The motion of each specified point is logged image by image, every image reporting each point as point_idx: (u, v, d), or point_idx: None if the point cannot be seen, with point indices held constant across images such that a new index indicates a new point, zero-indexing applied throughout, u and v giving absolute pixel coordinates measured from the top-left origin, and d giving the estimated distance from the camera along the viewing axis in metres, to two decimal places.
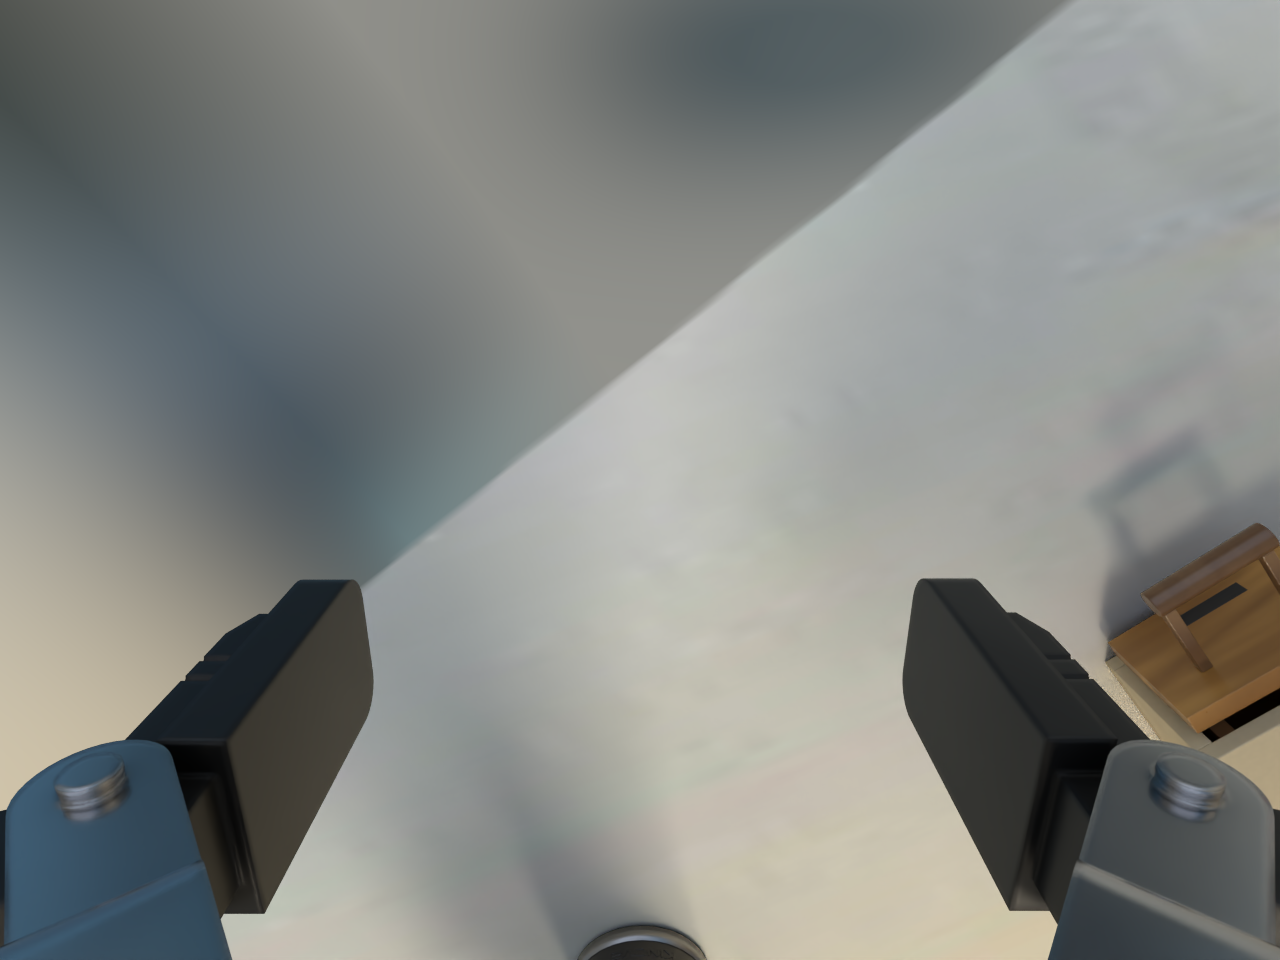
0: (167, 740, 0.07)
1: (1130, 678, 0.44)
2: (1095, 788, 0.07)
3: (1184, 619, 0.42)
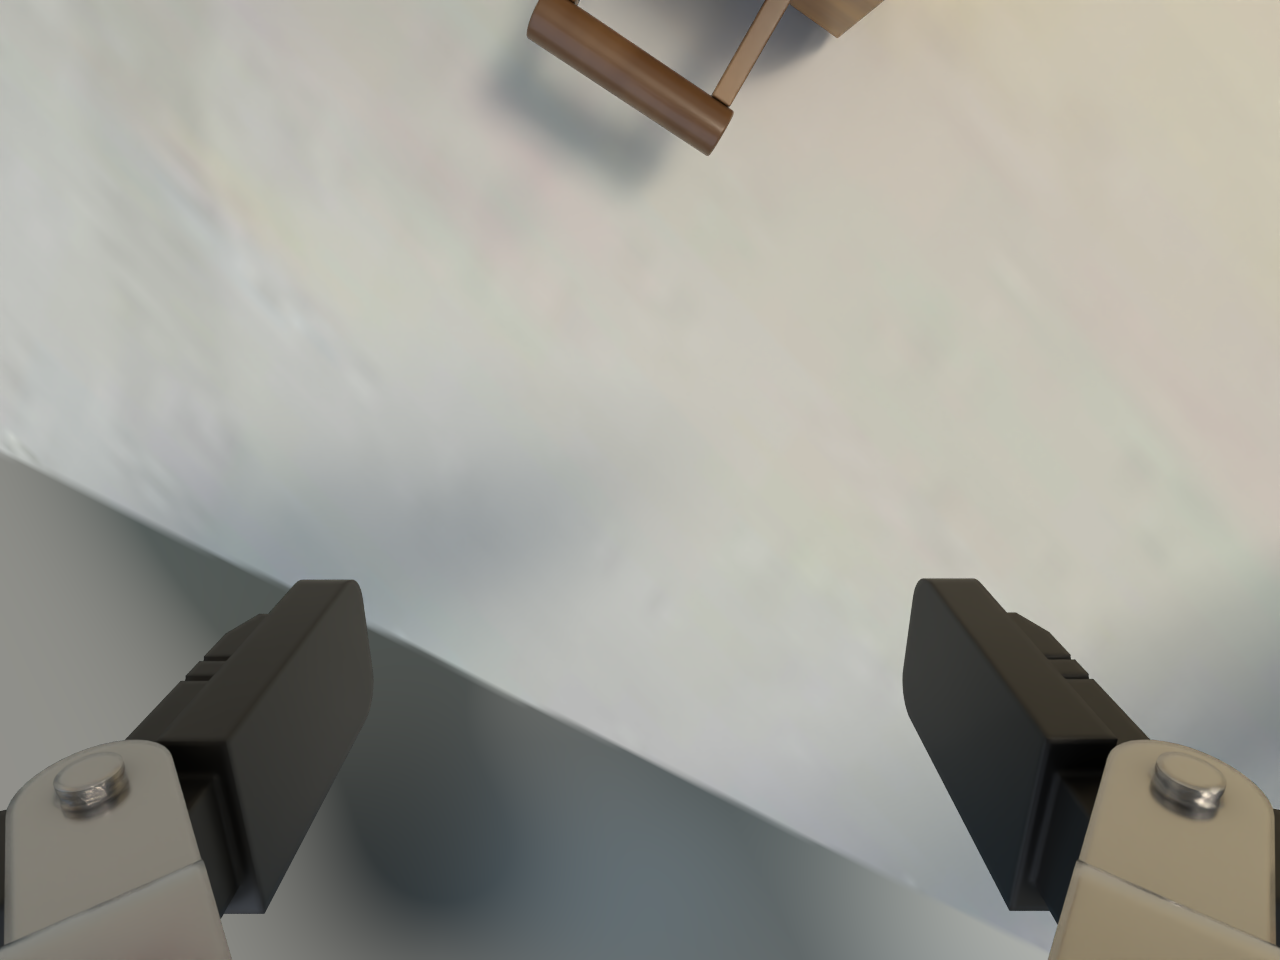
0: (167, 740, 0.07)
1: None
2: (1095, 788, 0.07)
3: None
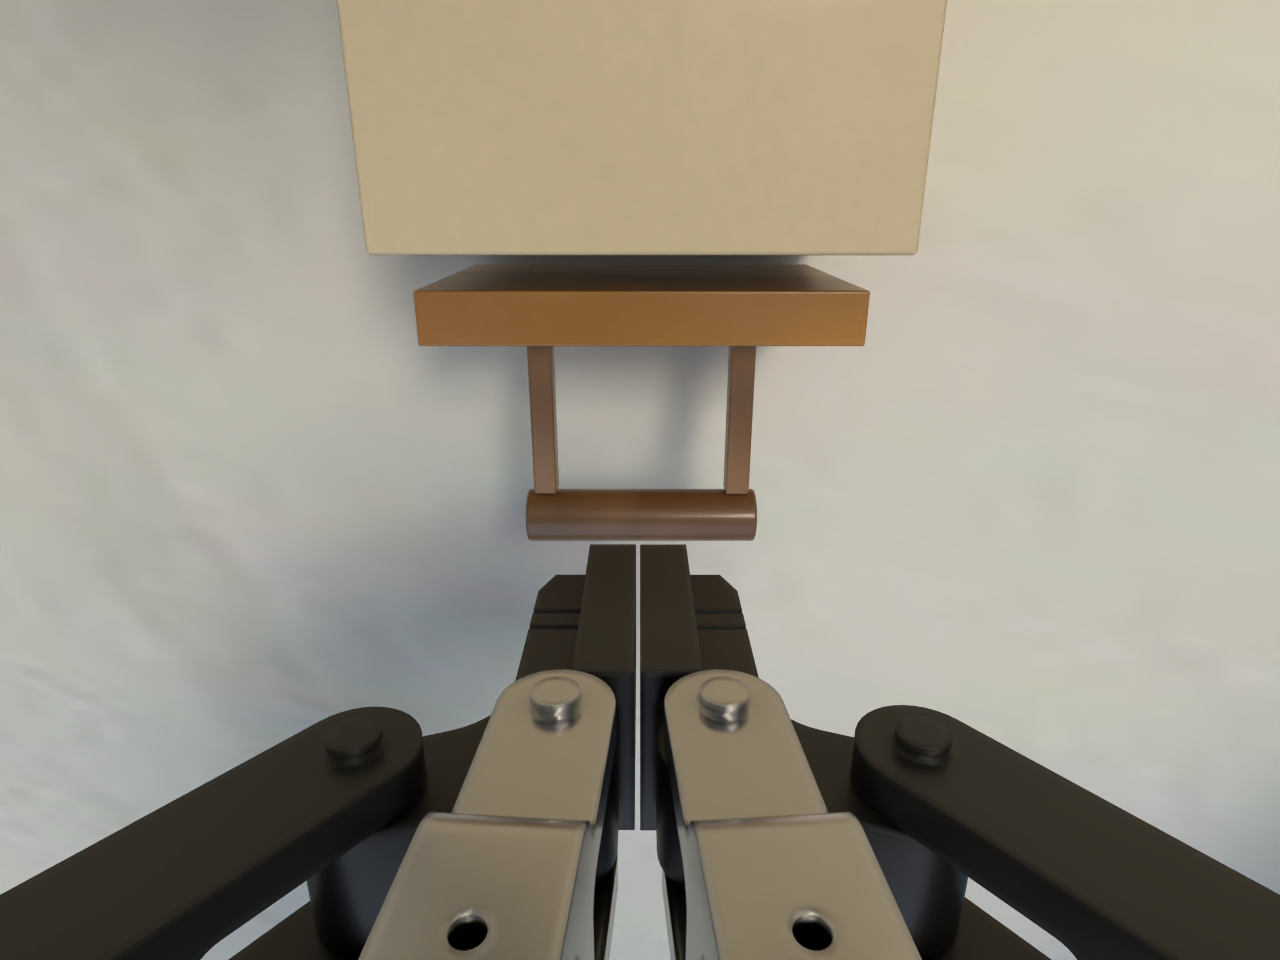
0: (582, 671, 0.08)
1: None
2: None
3: None
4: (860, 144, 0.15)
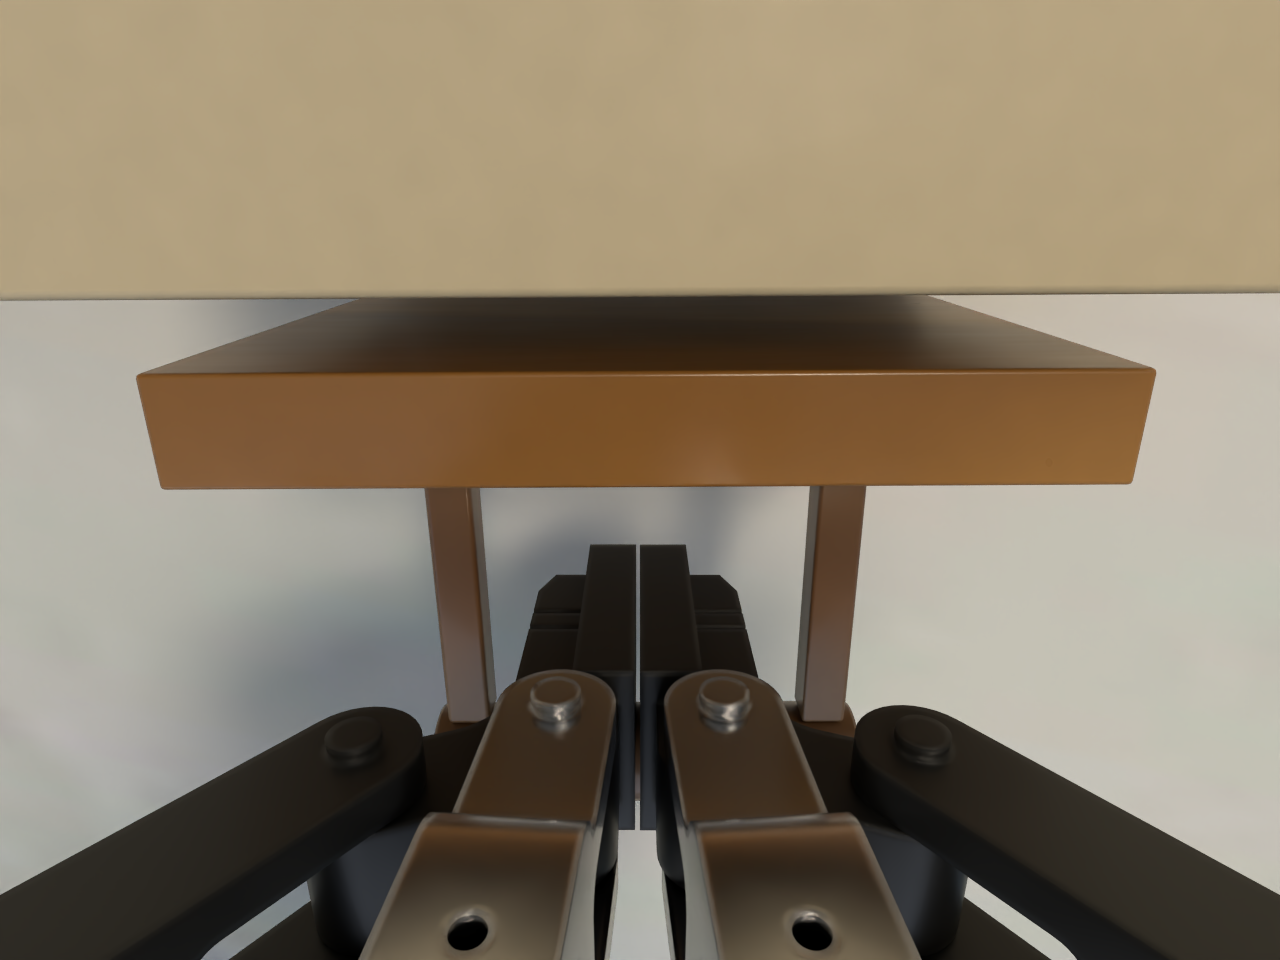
0: (582, 671, 0.08)
1: None
2: None
3: None
4: (1224, 5, 0.06)
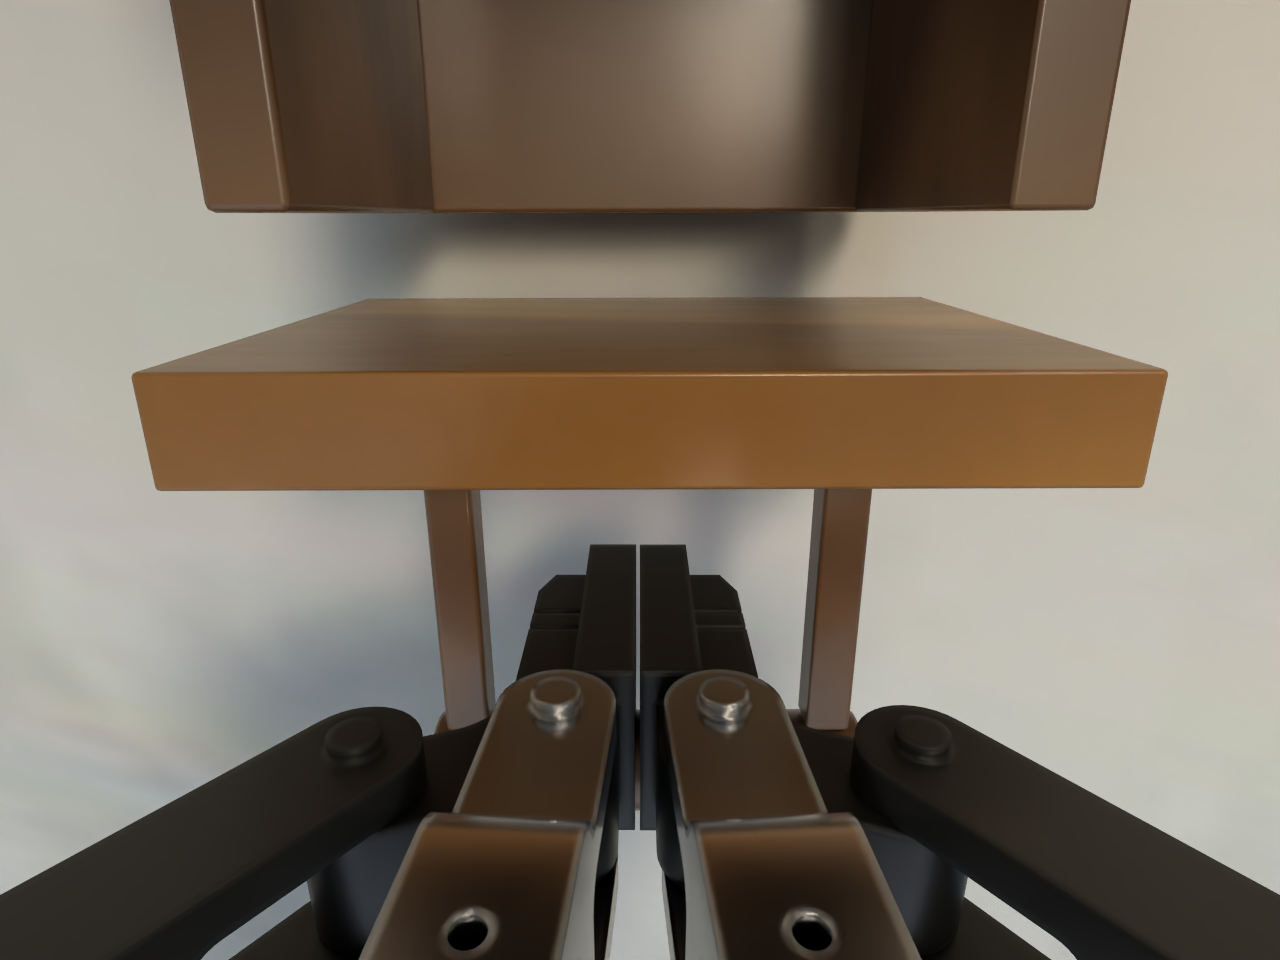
0: (583, 671, 0.08)
1: None
2: None
3: None
4: None
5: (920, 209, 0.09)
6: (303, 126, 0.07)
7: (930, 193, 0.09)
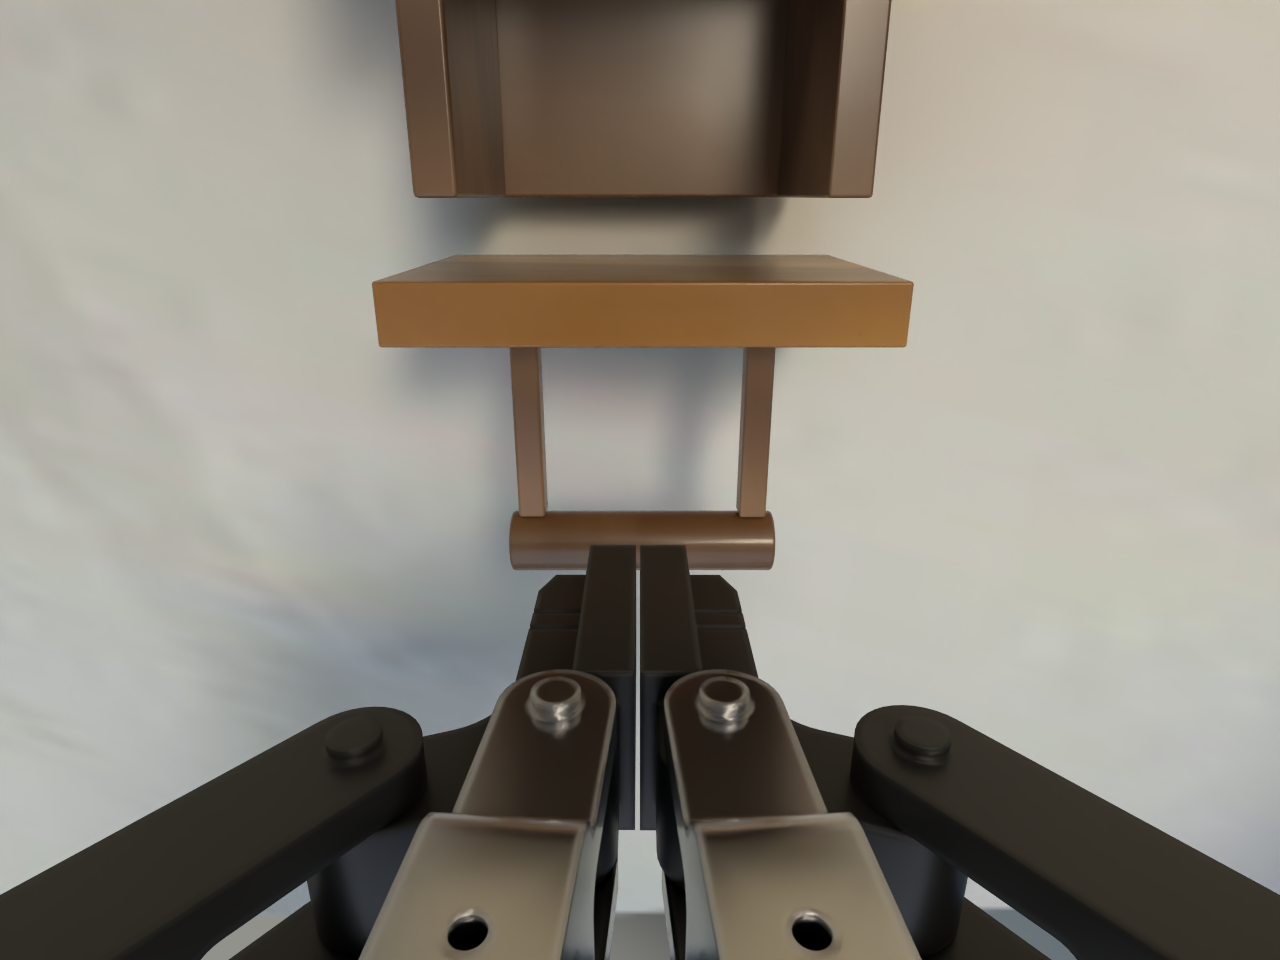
0: (582, 671, 0.08)
1: None
2: None
3: None
4: None
5: (802, 196, 0.16)
6: (460, 151, 0.14)
7: (804, 187, 0.16)
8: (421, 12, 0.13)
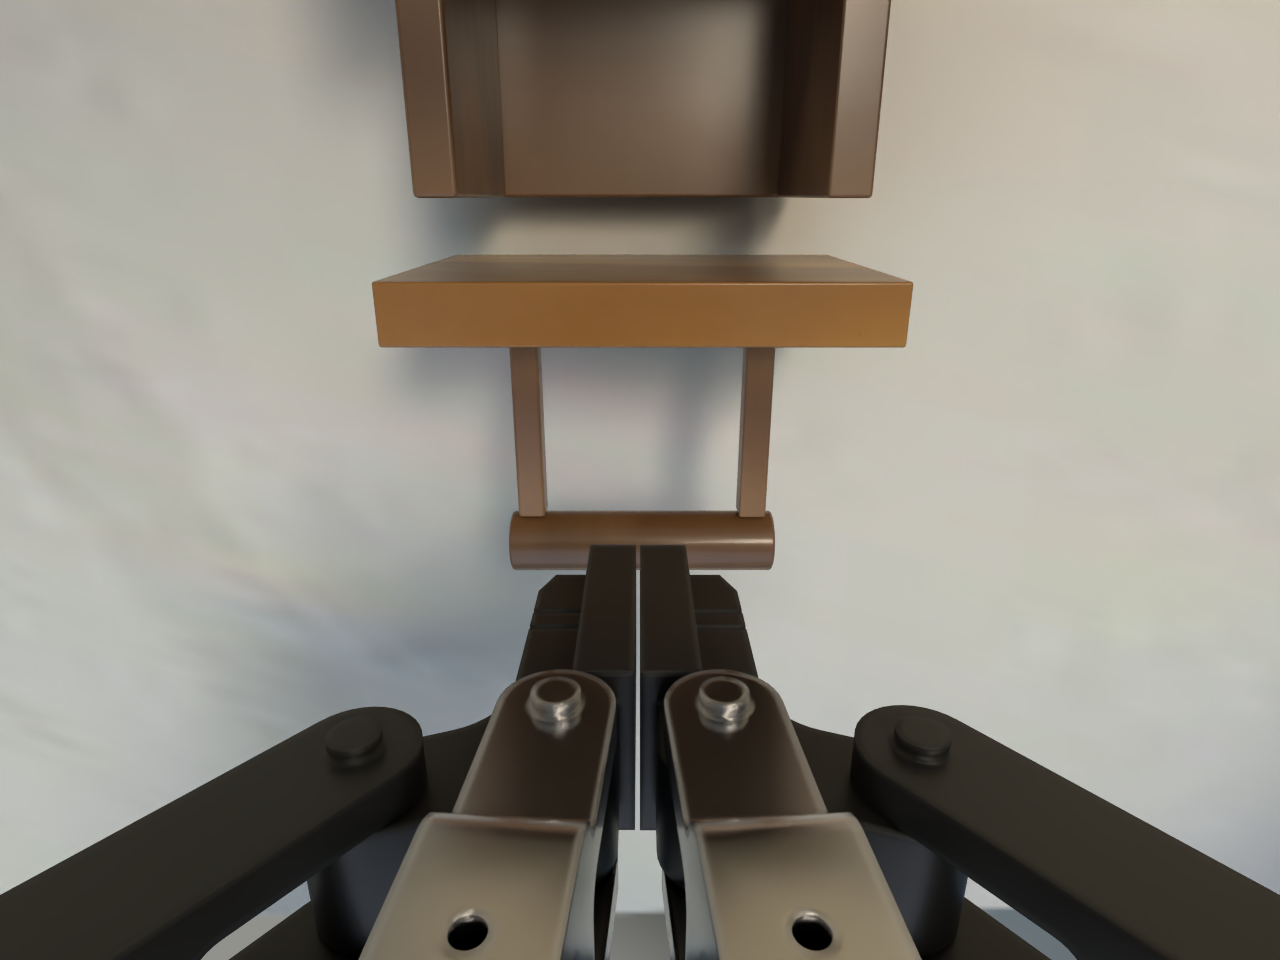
0: (582, 671, 0.08)
1: None
2: None
3: None
4: None
5: (802, 196, 0.16)
6: (461, 151, 0.14)
7: (804, 187, 0.16)
8: (421, 12, 0.13)
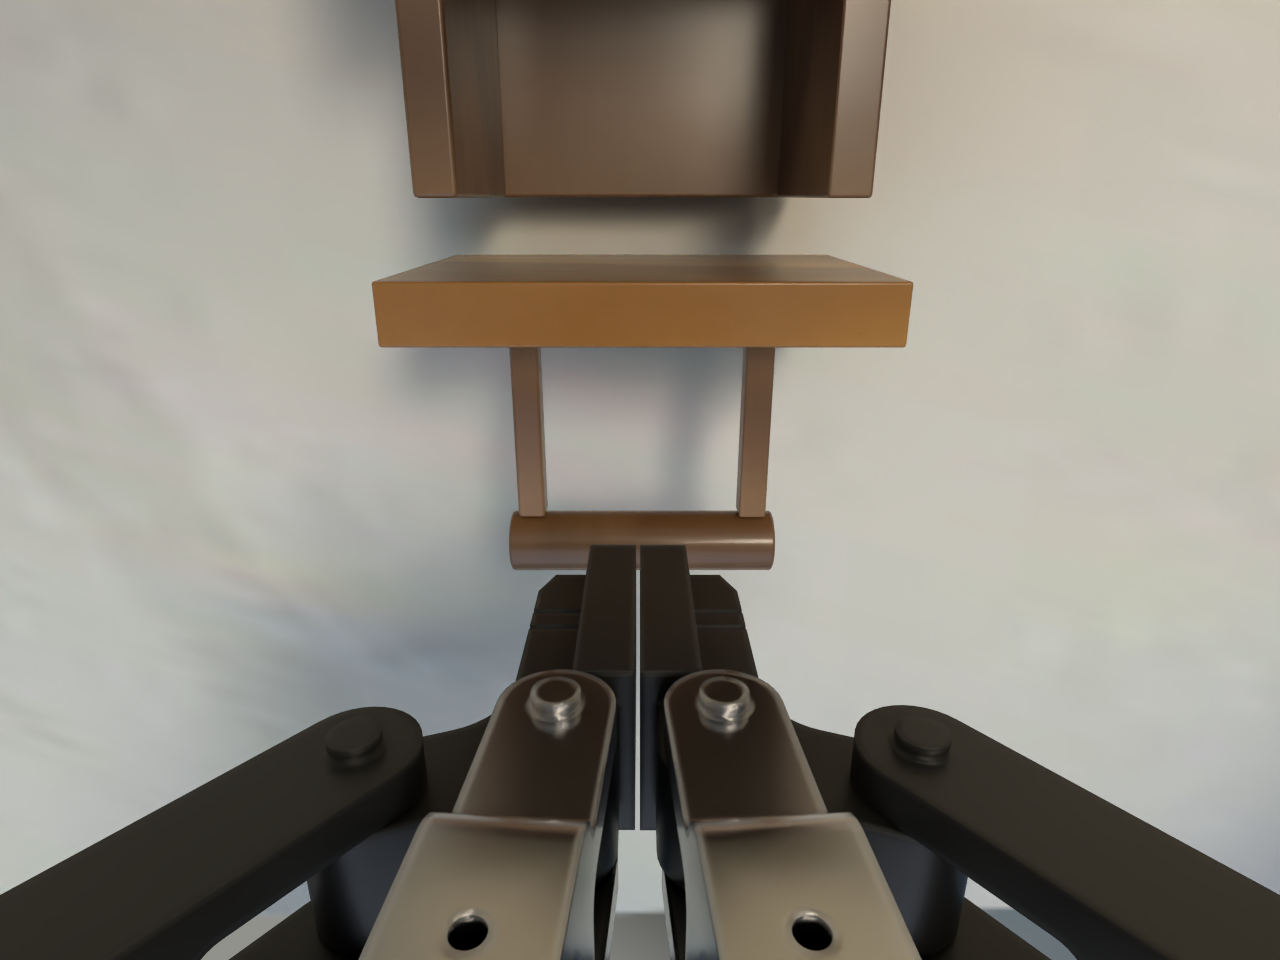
0: (582, 671, 0.08)
1: None
2: None
3: None
4: None
5: (802, 196, 0.16)
6: (461, 151, 0.14)
7: (804, 187, 0.16)
8: (421, 12, 0.13)
